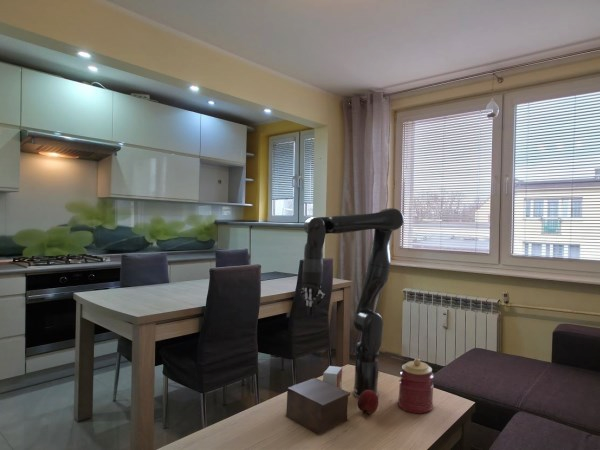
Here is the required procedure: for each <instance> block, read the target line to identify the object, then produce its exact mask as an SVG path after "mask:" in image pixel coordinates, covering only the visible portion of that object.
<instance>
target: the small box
mask: <svg viewBox="0 0 600 450" xmlns="http://www.w3.org/2000/svg"><path fill="white" fill-rule="evenodd" d="M322 381H324V382H326V383H329V384H331V385H333V386H336V387H338V388H340V389H342V384H343V366H336V365H335V366H334V365H329V366H328V367H327V369H326V370H325V371H324V372H323V373H322Z"/></svg>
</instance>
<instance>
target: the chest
mask: <svg viewBox="0 0 600 450" xmlns="http://www.w3.org/2000/svg"><path fill="white" fill-rule="evenodd" d="M286 394H287V395H286V414H285V416H286V417H287V418H289V419H290V420H292V421H294V422H296V423H298V424H300V425H301V426H303V427H305V428H307V429H309V430H310V431H312V432H314V433H315V434H317V435H322V434H324V433H326V432H327V431H330V430H331V429H333V428H336V427H337V426H339V425H341V424H342V423H344V422H346V421H348V407H349V405H348V404H349V396H347V397H345V398H343V399H340V400H338V401H336V402H334V403H332V404H330V405H327V406H325V407H321V406H318V405H316V404H314V403H312V402H310V401H308V400H306V399H304V398H302V397H300V396H298V395H296V394H294V393H292V392H290V391H288V390H287V393H286Z"/></svg>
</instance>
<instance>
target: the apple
mask: <svg viewBox="0 0 600 450" xmlns="http://www.w3.org/2000/svg"><path fill="white" fill-rule="evenodd" d="M356 402H357V403H356V405H357V408H358V409H359V410H360V411H361V412H362V414H368V415H372V414H374V413H375V412H376V411H377V409H378V406H379V396H378V394H377V395H376V393H375V392H374V391H372V390H365V391H363V392H362V393H361V395H360V396H359V398H357V400H356Z"/></svg>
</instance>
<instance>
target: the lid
mask: <svg viewBox="0 0 600 450" xmlns="http://www.w3.org/2000/svg"><path fill="white" fill-rule="evenodd" d="M287 390H288V391H290V392H292V393H294V394H296V395H298V396H300V397H302V398H304V399H306V400H308V401H310V402H312V403H314V404H316V405H318V406H321V407H325V406H327V405H330V404H332V403H334V402H336V401H338V400H340V399H343V398H345V397H347V396H348V397H349V396H351V392H349V391H347V390H345V389H342V388H341V389H340V388H338V387H336V386H333V385H331V384H329V383H326V382H324V381H323V379H319V378H317V377H313V378H310V379H307V380H305V381H303V382H299V383H297V384H294V385H291V386H288V387H287Z"/></svg>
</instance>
